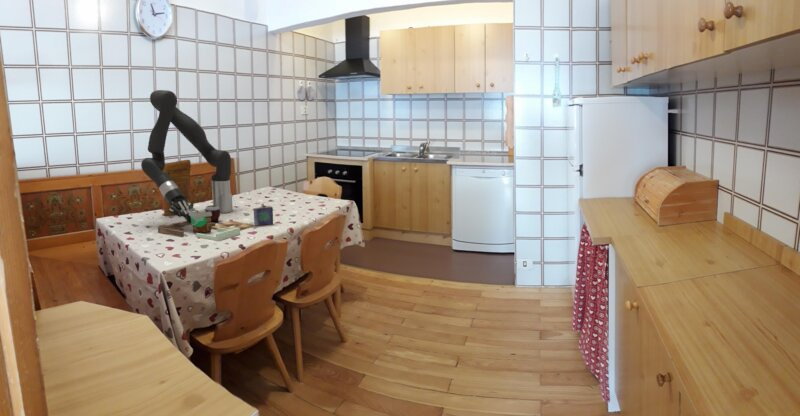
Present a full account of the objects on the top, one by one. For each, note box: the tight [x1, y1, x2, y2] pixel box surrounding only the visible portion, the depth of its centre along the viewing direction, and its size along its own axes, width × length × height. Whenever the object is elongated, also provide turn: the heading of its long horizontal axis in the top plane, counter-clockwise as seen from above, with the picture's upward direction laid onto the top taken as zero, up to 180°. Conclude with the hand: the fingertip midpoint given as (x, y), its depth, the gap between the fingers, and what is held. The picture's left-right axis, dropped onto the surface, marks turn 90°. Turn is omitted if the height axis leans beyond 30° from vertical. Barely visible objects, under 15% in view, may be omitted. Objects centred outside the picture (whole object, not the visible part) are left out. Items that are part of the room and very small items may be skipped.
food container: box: [189, 207, 212, 234], centre depth 235 cm, size 12×6×10 cm, turn 59°
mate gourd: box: [204, 192, 223, 224], centre depth 254 cm, size 8×8×15 cm
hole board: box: [211, 220, 255, 231], centre depth 245 cm, size 14×14×1 cm
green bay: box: [195, 227, 241, 242], centre depth 230 cm, size 13×13×3 cm
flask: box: [253, 202, 274, 227], centre depth 250 cm, size 9×3×11 cm, turn 120°
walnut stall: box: [157, 220, 217, 238], centre depth 239 cm, size 19×15×2 cm
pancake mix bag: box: [162, 159, 192, 217], centre depth 270 cm, size 7×19×28 cm, turn 151°
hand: (191, 221), depth 237 cm, fingers closed
